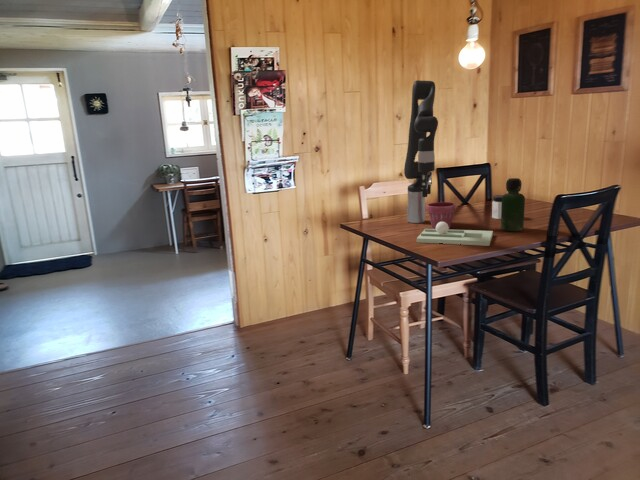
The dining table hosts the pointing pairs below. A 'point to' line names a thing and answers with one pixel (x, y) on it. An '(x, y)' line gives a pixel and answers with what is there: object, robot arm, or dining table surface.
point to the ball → (442, 227)
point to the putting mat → (456, 237)
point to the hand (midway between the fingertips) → (426, 195)
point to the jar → (496, 206)
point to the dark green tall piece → (513, 207)
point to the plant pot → (440, 213)
